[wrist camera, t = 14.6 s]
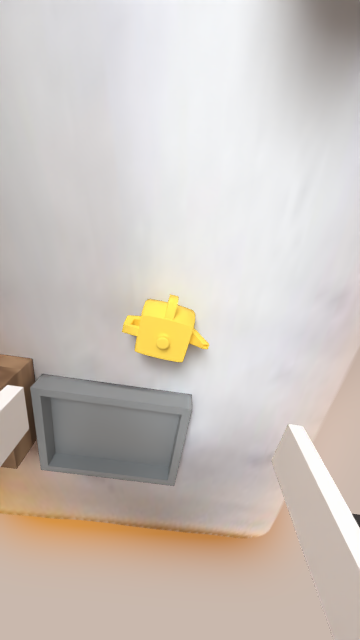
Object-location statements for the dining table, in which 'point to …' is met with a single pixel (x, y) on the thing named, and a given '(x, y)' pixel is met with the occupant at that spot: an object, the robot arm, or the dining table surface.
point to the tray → (109, 429)
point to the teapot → (164, 330)
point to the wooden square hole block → (21, 374)
